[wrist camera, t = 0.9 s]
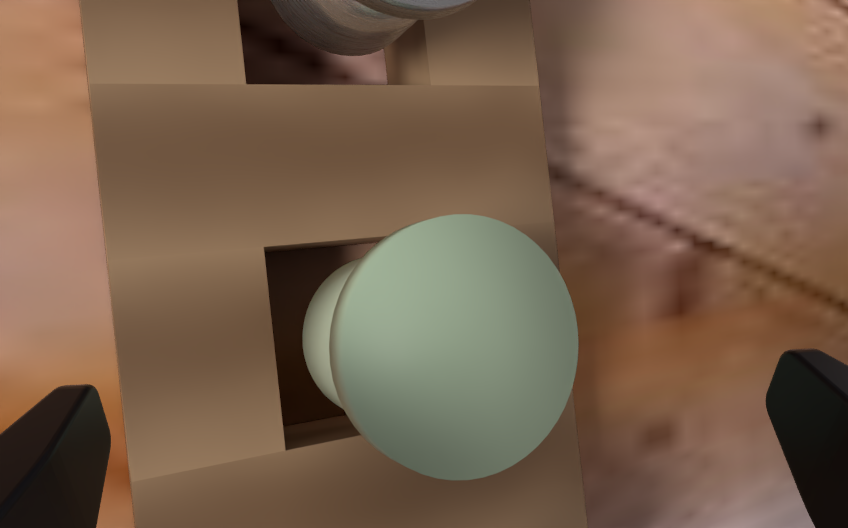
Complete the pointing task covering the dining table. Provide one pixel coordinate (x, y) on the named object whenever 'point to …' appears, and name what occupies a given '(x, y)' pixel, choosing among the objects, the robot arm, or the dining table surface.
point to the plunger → (359, 21)
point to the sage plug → (447, 345)
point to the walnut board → (291, 230)
